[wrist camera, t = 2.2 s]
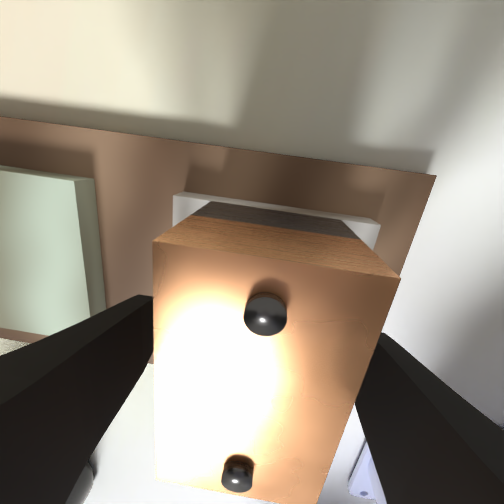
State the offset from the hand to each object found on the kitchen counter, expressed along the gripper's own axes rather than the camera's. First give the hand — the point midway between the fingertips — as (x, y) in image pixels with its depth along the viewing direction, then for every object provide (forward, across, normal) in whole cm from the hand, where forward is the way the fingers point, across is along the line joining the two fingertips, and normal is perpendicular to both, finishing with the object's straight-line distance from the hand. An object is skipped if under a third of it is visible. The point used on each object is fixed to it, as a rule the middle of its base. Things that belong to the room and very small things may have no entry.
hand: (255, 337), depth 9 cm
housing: (+2, 0, 0) cm, 3 cm away
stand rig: (+5, +6, 0) cm, 7 cm away
